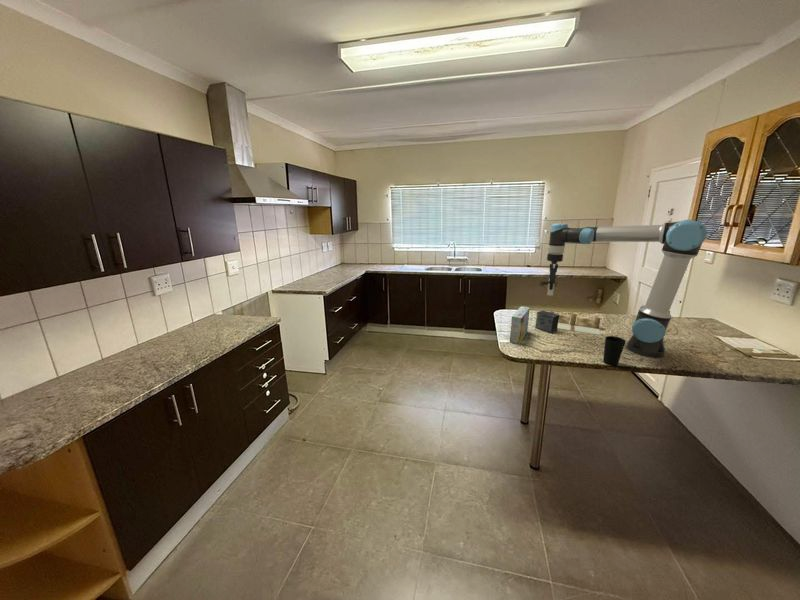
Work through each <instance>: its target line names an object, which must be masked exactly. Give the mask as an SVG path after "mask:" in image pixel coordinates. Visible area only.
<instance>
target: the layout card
mask: <svg viewBox="0 0 800 600" xmlns="http://www.w3.org/2000/svg"><path fill="white" fill-rule="evenodd" d="M576 323H577V322H576ZM576 323H575V325H570V321H569V324H566V323H559V322H558V327H557V330H563V331H569V332H576V333H583V334H588V335H589V334H590V335H594V336H595V335H596V336H601V331H600V328H599V329H595V328H593V327H586V326H580V325H576Z"/></svg>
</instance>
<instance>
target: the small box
mask: <svg viewBox="0 0 800 600" xmlns="http://www.w3.org/2000/svg"><path fill="white" fill-rule="evenodd" d="M559 315H560V314H558V313H555V312H554V313H551V312H549V311H547V310H540V311H537V313H536V320H535V326H534V327H535V329H537V330H540V331H543V332H546V333H549V334H554V333H556V332H557V331H558V329H557V327H558V320H559Z"/></svg>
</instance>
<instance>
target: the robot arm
mask: <svg viewBox="0 0 800 600" xmlns="http://www.w3.org/2000/svg"><path fill="white" fill-rule="evenodd" d="M707 233H708V231H707V227H706V226H705V225H704V224H703V223H702V222H700V221H698V220H696V219H683V220H680V221H679V220H678V221H674V222H673V221H671V222H670V221H669V222H663V223H662V224H650V225H645V224H644V225H620V226H618V225H616V226H615V225H614V226H585V227H569V226H568V223H559V222H557V223H553V224H552V225H551V229H550V234H549V241H548V242H549V243H548V246H546V247H547V248H546V249H547V250H548V251H547V256H546V261H548V262H550V264H549V278H548V281H547V293H546V295H547V296H551V297H552V296H554V290H555V283H556V278H557V276H556V274H557V272H558V269H559V264H558V263H559V262H560V263H561V262H563V261H564V253H565V247H566V246H565V245H566V244H569V243H570V244H581V245H590V244H592V243H597V242H598V243H599V242H601V243H602V242H603V243H605V242H608V243H609V242H610V243H615V242H619V243H621V242H622V243H623V242H624V243H627V242H634V243H636V242H639V243H640V242H643V243H644V242H645V243H650V242H651V243H653V242H654V243H660V244H662V248H661V252H662V253H663V258H662V260H661V263H660V266H659V268H658V271H657V273H656V276H655V279H654V281H653V284H652V286H651V289H650V292H649V294H648V298H647V300H646V301H645V305H641V306H640V307H639V310H638V312H637V315H636V317H635V320H634V322H633V324H632V325H631V332H632V336H631V337H630V338H629V340H628V341H627V344H626V349H628V350H629V351H630V352H632V353H634V354H637V355H640V356H644V357H650V358H661V357H662V358H663V357H664V356H665V352H666V348H665V341H664V339H665V336H666V332H667V330H668V329H667V328H668V327H669V324H670V321H671V319H672V318H673V317H672V315H671V311H670V309H671V308H672V305H673V303H674V300H675V297H676V296H677V293H678V290H679V288H680V285H681V283H682V281H683V278H684V276H685V273H686V272H687V268H688V266H689V264H690V262H691V260H692V259H694V258H696V257H697V256H698V255H699V252H700V250H701V247H702V245H703V243H704V242H705V240H706V239H707V238H706V237H707V235H708V234H707Z"/></svg>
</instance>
